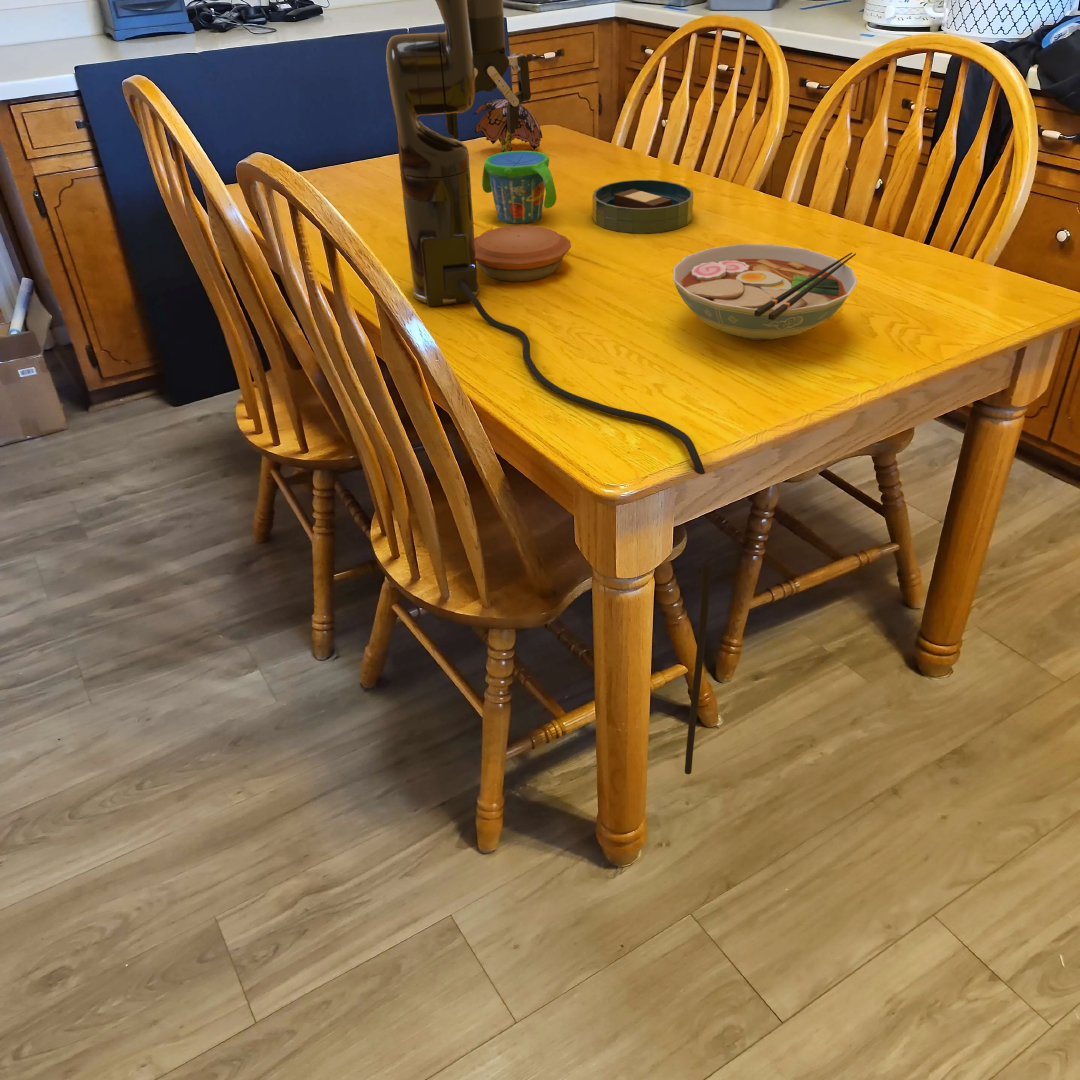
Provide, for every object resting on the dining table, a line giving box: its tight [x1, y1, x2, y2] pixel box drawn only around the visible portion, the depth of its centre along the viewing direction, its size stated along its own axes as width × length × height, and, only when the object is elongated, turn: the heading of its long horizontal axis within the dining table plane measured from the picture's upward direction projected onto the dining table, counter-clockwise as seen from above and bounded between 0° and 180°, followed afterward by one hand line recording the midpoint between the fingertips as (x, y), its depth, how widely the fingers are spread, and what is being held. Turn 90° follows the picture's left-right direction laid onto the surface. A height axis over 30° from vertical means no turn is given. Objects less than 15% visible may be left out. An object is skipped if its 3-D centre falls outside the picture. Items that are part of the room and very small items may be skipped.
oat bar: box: [614, 189, 672, 208], centre depth 159 cm, size 9×4×4 cm, turn 41°
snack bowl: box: [591, 179, 694, 234], centre depth 159 cm, size 17×17×4 cm
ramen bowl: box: [672, 243, 858, 341], centre depth 121 cm, size 25×23×8 cm
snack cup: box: [481, 150, 557, 225], centre depth 159 cm, size 16×10×10 cm
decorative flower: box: [473, 98, 544, 153], centre depth 196 cm, size 15×12×15 cm
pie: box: [474, 225, 572, 283], centre depth 142 cm, size 15×16×5 cm
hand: (483, 135), depth 140 cm, fingers open, 8 cm apart
